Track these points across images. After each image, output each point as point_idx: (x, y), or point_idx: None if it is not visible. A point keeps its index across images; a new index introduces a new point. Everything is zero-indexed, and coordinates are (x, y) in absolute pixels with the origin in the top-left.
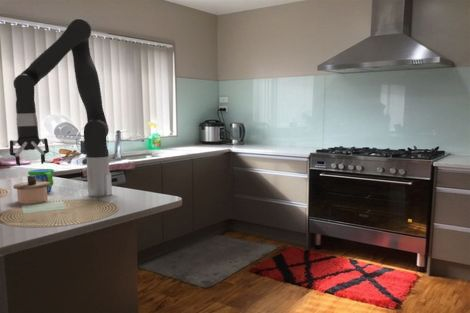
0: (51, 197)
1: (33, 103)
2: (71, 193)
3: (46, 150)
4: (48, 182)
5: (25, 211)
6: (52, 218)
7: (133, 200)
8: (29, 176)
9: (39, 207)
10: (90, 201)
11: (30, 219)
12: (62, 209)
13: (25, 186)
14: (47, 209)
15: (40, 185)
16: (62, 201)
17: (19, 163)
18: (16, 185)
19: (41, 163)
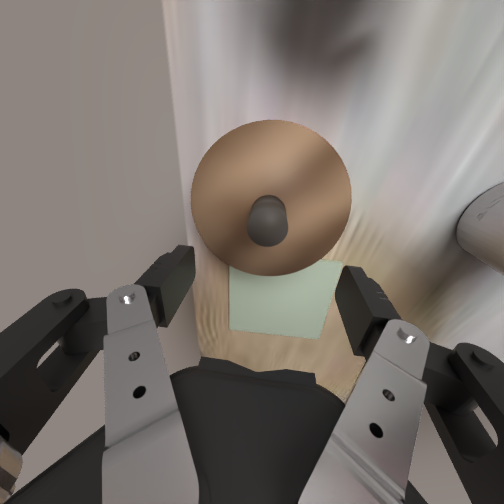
0: (348, 140)
1: None
2: (465, 86)
3: (436, 413)
4: (346, 203)
5: (235, 315)
6: (274, 366)
7: (496, 336)
8: (255, 241)
9: (268, 297)
10: (410, 287)
11: (240, 354)
12: (307, 337)
13: (237, 250)
14: (280, 323)
15: (292, 262)
16: (341, 265)
17: (186, 287)
18: (203, 200)
19: (341, 275)
